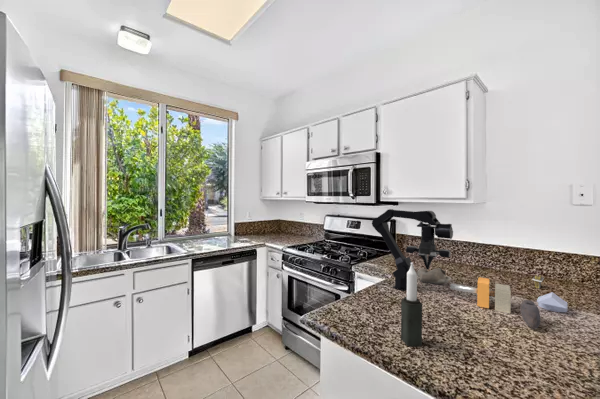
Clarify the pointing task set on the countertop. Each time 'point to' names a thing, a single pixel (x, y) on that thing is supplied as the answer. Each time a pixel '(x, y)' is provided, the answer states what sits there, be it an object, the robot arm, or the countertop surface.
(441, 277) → the grey lumpy stone
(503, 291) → the pipe stand
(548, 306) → the pale blue faceted stone
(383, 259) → the countertop surface
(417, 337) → the candle
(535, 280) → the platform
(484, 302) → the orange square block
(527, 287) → the countertop surface
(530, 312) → the perforated stone tool
